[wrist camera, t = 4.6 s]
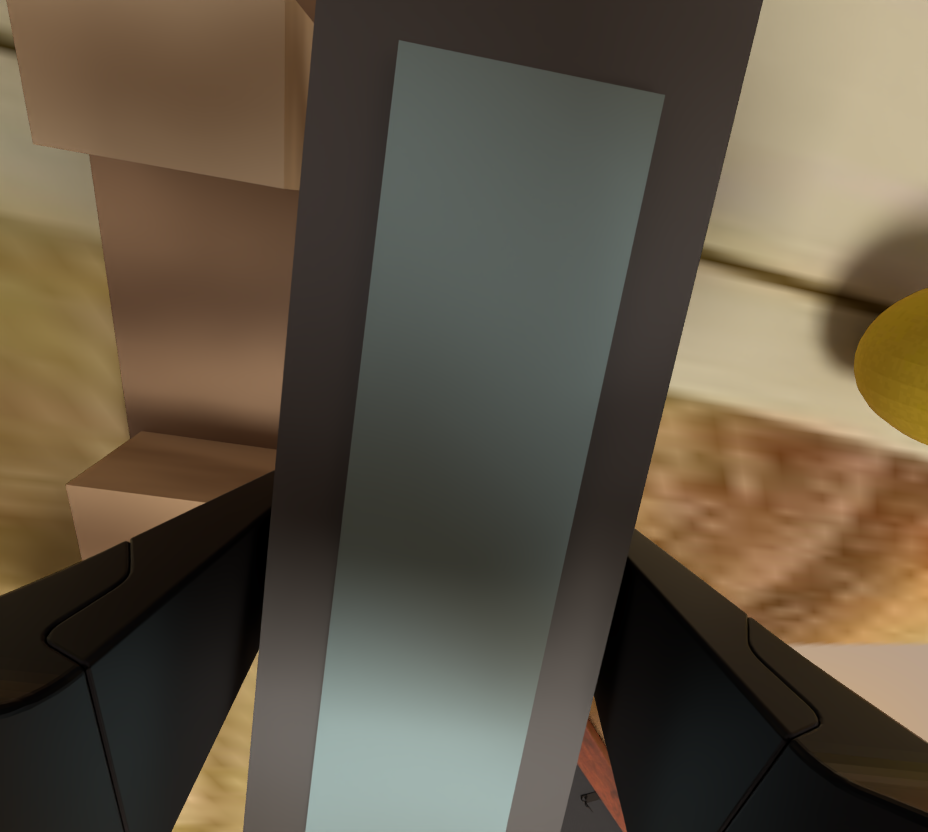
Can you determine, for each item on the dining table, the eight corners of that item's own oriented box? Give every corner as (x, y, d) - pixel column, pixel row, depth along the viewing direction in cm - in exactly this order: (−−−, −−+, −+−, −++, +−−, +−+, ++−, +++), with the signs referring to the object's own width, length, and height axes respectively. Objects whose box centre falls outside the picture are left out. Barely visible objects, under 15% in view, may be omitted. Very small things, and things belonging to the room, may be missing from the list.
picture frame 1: (503, 878, 10) (520, 1034, 8) (271, 860, 10) (220, 1020, 8) (680, 73, 7) (786, -39, 5) (359, 6, 7) (319, -149, 5)
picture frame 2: (260, 745, 30) (442, 908, 39) (247, 779, 28) (441, 942, 37) (546, 644, 26) (672, 850, 36) (553, 676, 25) (683, 885, 34)
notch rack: (509, 566, 23) (521, 655, 19) (157, 523, 22) (78, 606, 17) (643, 58, 15) (725, -8, 10) (82, -60, 14) (-110, -195, 9)
